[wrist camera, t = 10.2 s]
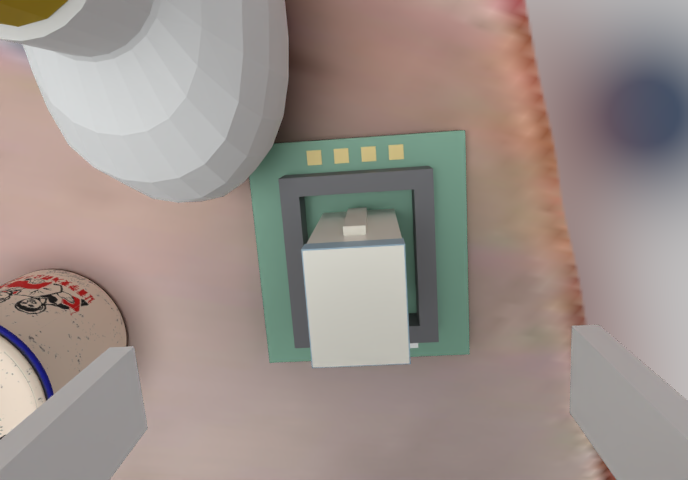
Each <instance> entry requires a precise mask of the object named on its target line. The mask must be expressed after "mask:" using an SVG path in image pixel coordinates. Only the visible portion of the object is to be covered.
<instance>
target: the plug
mask: <svg viewBox="0 0 688 480" xmlns="http://www.w3.org/2000/svg"><path fill="white" fill-rule="evenodd" d="M301 253H302V264H303V275H304V286H305V297H306V308H307V319H308V330H309V341H310V352H311V363H312V368H328V367H352V366H377V365H401V364H411V361H410V339H409V318H408V296H407V275H406V253H405V242H404V238H402V236H401V232H400V229H399V225H398V221H397V217H396V214H395V210H394V209H379V210H367V207H365V208H349V209H348V210H347V212H330V213H323V214H322V216H321V218H320V220H319V222H318V223H317V225H316V227H315V229H314V231H313V233H312V234H311V236H310V238H309V240H308V242H307V244H304V246H303V247H302V249H301Z"/></svg>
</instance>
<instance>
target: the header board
mask: <svg viewBox="0 0 688 480" xmlns="http://www.w3.org/2000/svg"><path fill="white" fill-rule="evenodd" d="M249 179H250V188H251V198H252V207H253V216H254V225H255V234H256V243H257V252H258V261H259V270H260V280H261V289H262V298H263V307H264V316H265V325H266V334H267V343H268V352H269V362H270V363H274V362H298V361H311V352H310V341H309V330H308V319H307V308H306V297H305V286H304V275H303V264H302V253H301V249H302V247H303V246H304V244H307V242H308V240H309V238H310V236H311V234H312V233H313V231H314V229H315V227H316V225H317V223H318V222H319V220H320V218H321V216H322V214H323V213H330V212H347V210H348V209H349V208H365V207H367V210H379V209H394V210H395V214H396V217H397V221H398V225H399V229H400V232H401V236H402V238H404V242H405V253H406V275H407V296H408V318H409V339H410V357H417V356H440V355H464V354H470V353H469V302H468V251H467V200H466V148H465V130H455V131H441V132H427V133H413V134H399V135H385V136H370V137H356V138H342V139H328V140H314V141H300V142H285V143H274V144H273V146H272V148H271V149H270V151H269V152H268V153H267V155H266V156H265V158H264V159H263V160H262V162H261V163H260V164H259V166H258V167H257V168H256V170H255V171H254V172H253V173H252V174H251V175H250V176H249Z"/></svg>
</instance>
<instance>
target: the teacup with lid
mask: <svg viewBox="0 0 688 480" xmlns="http://www.w3.org/2000/svg"><path fill="white" fill-rule="evenodd" d="M126 343H127V340H126V329H125V325H124V322H123V319H122V316H121V314H120V312H119V310H118V308H117V306H116V305H115V303H114V302H113V301H112V299H111V298H110V297H109V296H108V295H107V294H106V293H105V292H104V291H103V290H102V289H101V288H100V287H99V286H98V285H96V284H95V283H93V282H92V281H90V280H88V279H87V278H85V277H83V276H80V275H78V274H75V273H72V272H68V271H63V270H40V271H35V272H32V273H29V274H26V275H24V276H21V277H19V278H17V279H14V280H12V281H10V282H7V283H5V284H3V285H1V286H0V437H2V436H4V435H7V434H8V433H9V432H10V431H11V430H12V429H14V428H15V427H16V426H17V425H18V424H20V423H21V422H22V421H23V420H24V419H25V418H27V417H28V416H29V415H30V414H31V413H33V412H34V411H35V410H36V409H37V408H38V407H40V406H41V405H42V404H43V403H44V402H46V401H47V400H48V399H49V398H50V397H52V396H53V395H54V394H55V393H56V392H57V391H59V390H60V389H61V388H62V387H63V386H65V385H66V384H67V383H68V382H69V381H70V380H72V379H73V378H74V377H75V376H76V375H78V374H79V373H80V372H81V371H82V370H83V369H85V368H86V367H87V366H88V365H89V364H91V363H92V362H93V361H94V360H95V359H96V358H98V357H99V356H100V355H101V354H102V353H104V352H105V351H106V350H107V349H108V348H109V347H126Z"/></svg>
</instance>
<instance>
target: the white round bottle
mask: <svg viewBox="0 0 688 480" xmlns="http://www.w3.org/2000/svg"><path fill="white" fill-rule="evenodd" d="M0 39H1V40H5V41H10V42H14V43H19V44H23V47H24V50H25V52H26V55H27V58H28V61H29V64H30V67H31V69H32V72H33V75H34V77H35V79H36V82H37V84H38V87H39V89H40V91H41V94H42V96H43V98H44V101H45V103H46V106H47V108H48V110H49V112H50V113H51V115H52V117H53V119H54V120H55V122H56V124H57V126H58V127H59V129H60V131H61V132H62V134H63V136H64V138H65V139H66V141H67V143H68V145H70V146H71V147H72V148H73V149H74V150H75V151H76V152H77V153H78V154H80V155H81V156H82V157H83V158H84V159H85V160H86V161H87V162H88V163H90V164H91V165H92V166H93V167H94V168H96V169H98V170H100V171H101V172H103V173H105V174H107V175H109V176H111V177H112V178H114V179H116V180H118V181H120V182H122V183H124V184H125V185H127V186H129V187H131V188H133V189H135V190H137V191H139V192H141V193H143V194H145V195H147V196H149V197H151V198H153V199H158V200H165V201H171V202H178V203H179V202H197V201H206V200H210V199H214V198H218V197H223V196H225V195H226V194H228V193H229V192H230V191H232V190H233V189H235V188H236V187H238V186H239V185H240V184H242V183H243V182H245V181H246V179H247V178H248V177H249V176H250V175H251V174H252V173H253V172H254V171H255V170H256V168H257V167H258V166H259V164H260V163H261V162H262V160H263V159H264V158H265V156H266V155H267V153H268V152H269V151H270V149H271V148H272V146H273V144H274V141H275V138H276V135H277V133H278V130H279V127H280V124H281V122H282V119H283V116H284V109H285V102H286V94H287V87H288V80H289V37H288V27H287V17H286V7H285V0H0Z"/></svg>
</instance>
